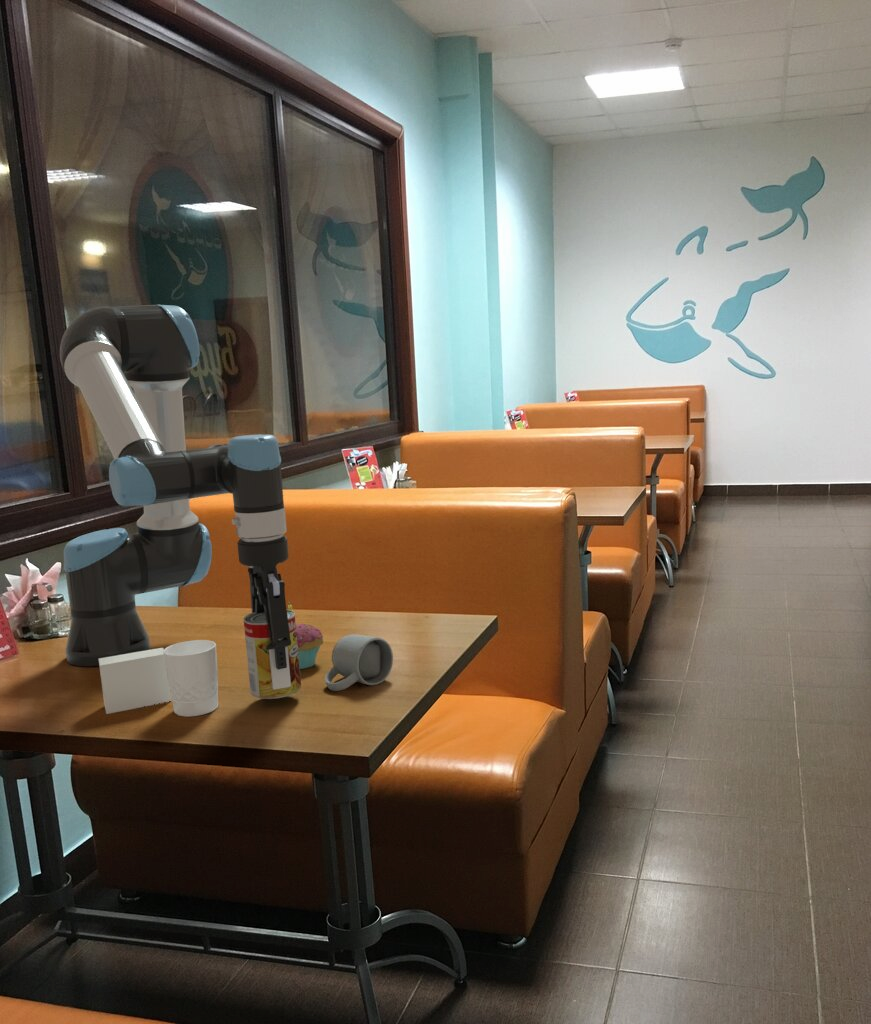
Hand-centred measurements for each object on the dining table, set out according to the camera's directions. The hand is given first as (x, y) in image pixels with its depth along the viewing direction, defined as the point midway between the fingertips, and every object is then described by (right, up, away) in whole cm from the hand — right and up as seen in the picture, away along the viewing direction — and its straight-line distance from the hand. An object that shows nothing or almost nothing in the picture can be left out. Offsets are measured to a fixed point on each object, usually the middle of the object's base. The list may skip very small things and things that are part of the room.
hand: (275, 679), depth 148 cm
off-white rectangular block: (-23, -5, +4) cm, 23 cm away
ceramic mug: (+12, -2, +7) cm, 14 cm away
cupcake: (+2, -1, +18) cm, 18 cm away
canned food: (0, -2, 0) cm, 2 cm away
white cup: (-12, -5, -1) cm, 13 cm away
